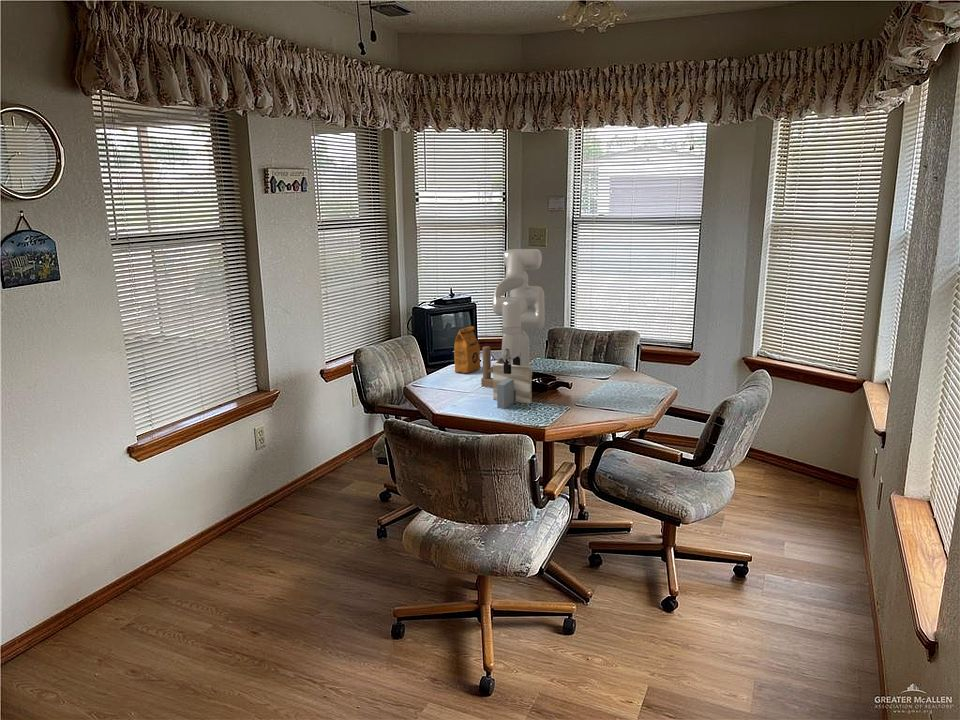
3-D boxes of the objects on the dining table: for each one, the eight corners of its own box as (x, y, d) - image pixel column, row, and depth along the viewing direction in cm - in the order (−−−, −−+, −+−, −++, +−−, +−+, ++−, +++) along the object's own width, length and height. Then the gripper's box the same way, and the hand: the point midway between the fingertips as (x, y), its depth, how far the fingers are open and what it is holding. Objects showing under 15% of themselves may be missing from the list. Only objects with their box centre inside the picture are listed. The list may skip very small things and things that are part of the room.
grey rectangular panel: (519, 392, 293) (519, 370, 291) (526, 393, 292) (526, 371, 289) (497, 408, 272) (497, 384, 270) (504, 409, 271) (503, 385, 268)
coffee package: (483, 370, 332) (482, 326, 327) (467, 375, 323) (466, 330, 318) (468, 367, 338) (467, 324, 333) (451, 372, 329) (450, 328, 324)
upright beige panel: (496, 397, 287) (495, 363, 283) (531, 401, 280) (531, 366, 276) (493, 399, 284) (492, 364, 280) (528, 403, 277) (528, 368, 274)
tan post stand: (500, 389, 298) (499, 350, 294) (481, 386, 304) (480, 347, 300) (505, 387, 301) (504, 348, 297) (486, 384, 307) (485, 345, 303)
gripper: (511, 326, 284) (511, 365, 288) (494, 333, 269) (495, 375, 273) (528, 327, 281) (528, 367, 285) (512, 335, 266) (512, 376, 270)
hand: (512, 370), depth 279 cm, fingers open, 9 cm apart
